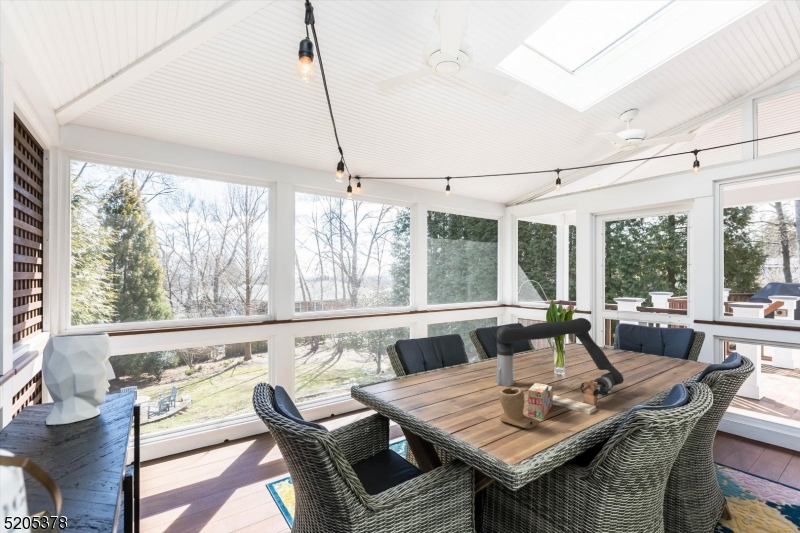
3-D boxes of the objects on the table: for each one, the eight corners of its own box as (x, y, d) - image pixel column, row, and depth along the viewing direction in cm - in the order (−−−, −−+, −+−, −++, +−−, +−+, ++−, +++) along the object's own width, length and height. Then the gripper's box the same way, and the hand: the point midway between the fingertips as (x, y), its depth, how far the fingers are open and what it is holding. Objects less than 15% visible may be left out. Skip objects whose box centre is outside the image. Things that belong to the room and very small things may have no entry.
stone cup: (493, 422, 156) (493, 387, 156) (508, 415, 164) (508, 382, 164) (525, 434, 145) (525, 396, 145) (539, 426, 153) (540, 390, 153)
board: (547, 402, 181) (547, 398, 181) (554, 398, 186) (554, 395, 186) (589, 414, 166) (589, 410, 166) (596, 410, 171) (596, 406, 171)
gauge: (587, 402, 179) (587, 378, 180) (597, 404, 176) (597, 380, 176) (578, 407, 172) (578, 382, 172) (588, 410, 169) (588, 384, 169)
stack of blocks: (539, 402, 181) (539, 378, 181) (552, 405, 177) (553, 380, 178) (528, 416, 163) (528, 389, 164) (542, 419, 160) (542, 391, 160)
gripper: (586, 374, 191) (573, 381, 180) (616, 381, 181) (604, 388, 169) (586, 389, 191) (573, 396, 180) (616, 396, 181) (604, 404, 169)
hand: (588, 392), depth 174 cm, fingers closed on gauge, 4 cm apart
